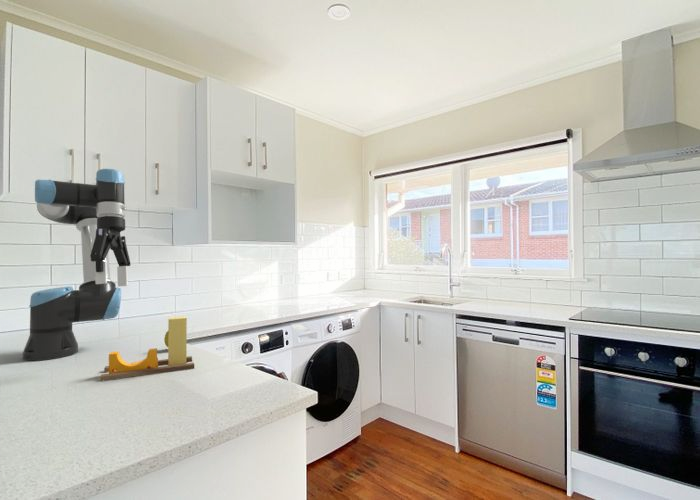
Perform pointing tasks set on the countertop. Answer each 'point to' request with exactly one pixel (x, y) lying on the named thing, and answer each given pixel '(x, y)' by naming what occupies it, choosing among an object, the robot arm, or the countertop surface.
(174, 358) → the yellow rectangular block
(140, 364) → the pipe clamp
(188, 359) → the channel
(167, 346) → the lemon
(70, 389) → the countertop surface
